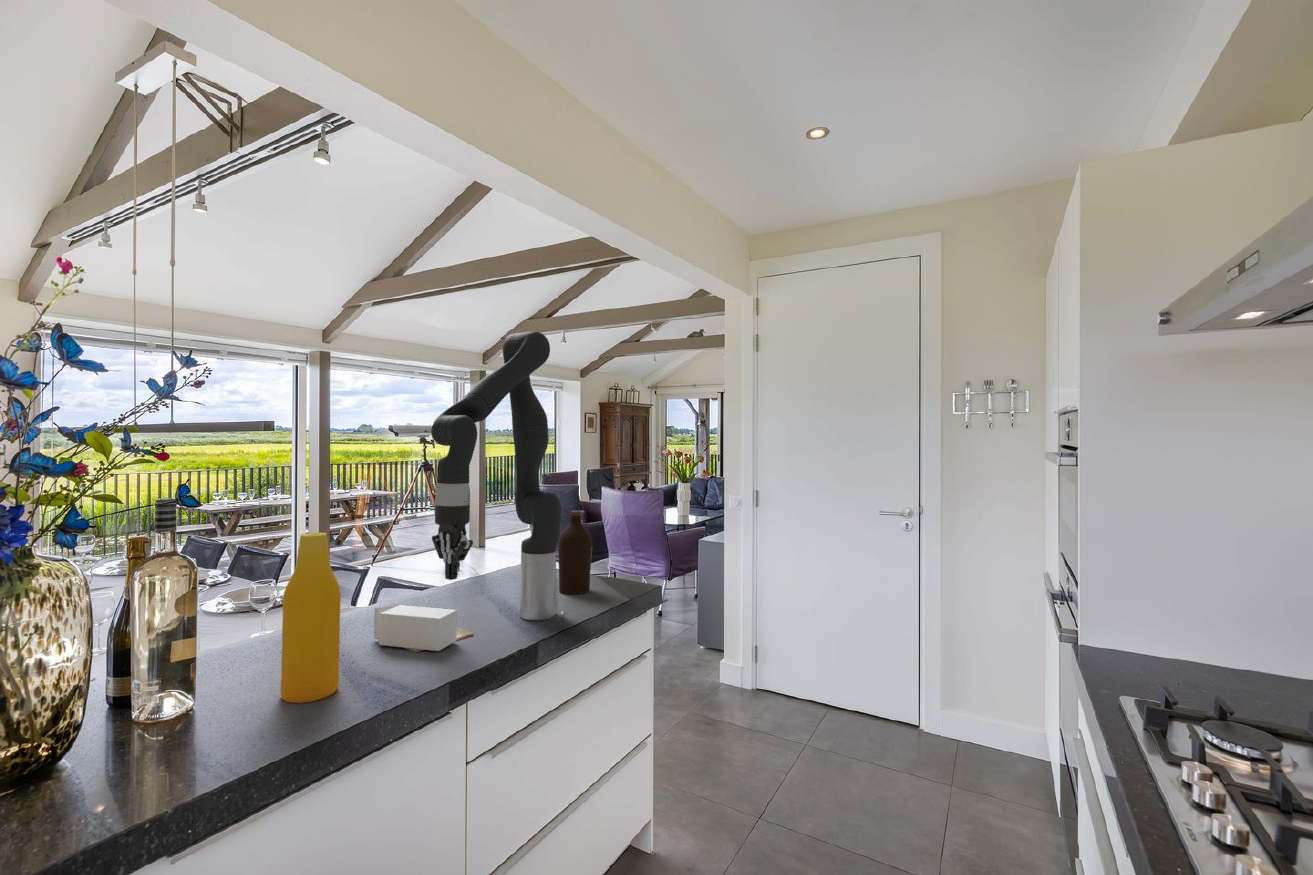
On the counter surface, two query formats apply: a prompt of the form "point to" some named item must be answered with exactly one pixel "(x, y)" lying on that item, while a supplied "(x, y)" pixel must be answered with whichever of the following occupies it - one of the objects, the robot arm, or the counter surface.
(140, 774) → the counter surface
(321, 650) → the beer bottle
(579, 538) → the olive oil
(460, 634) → the cork mat
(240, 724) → the counter surface
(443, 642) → the milk carton
